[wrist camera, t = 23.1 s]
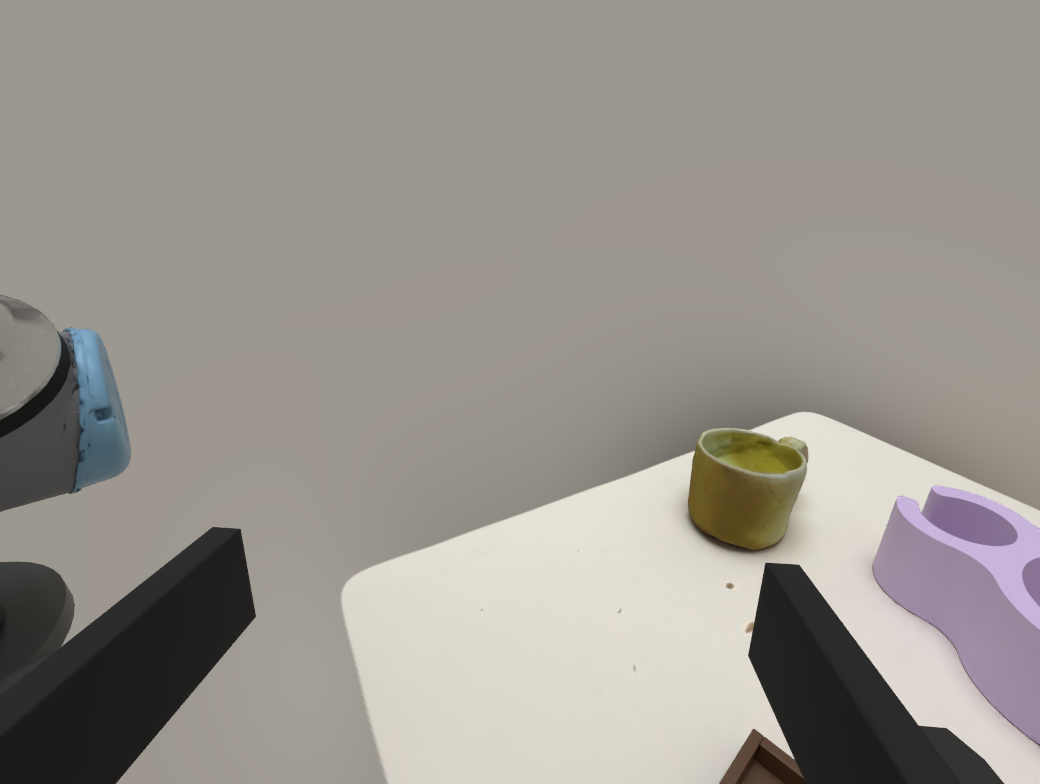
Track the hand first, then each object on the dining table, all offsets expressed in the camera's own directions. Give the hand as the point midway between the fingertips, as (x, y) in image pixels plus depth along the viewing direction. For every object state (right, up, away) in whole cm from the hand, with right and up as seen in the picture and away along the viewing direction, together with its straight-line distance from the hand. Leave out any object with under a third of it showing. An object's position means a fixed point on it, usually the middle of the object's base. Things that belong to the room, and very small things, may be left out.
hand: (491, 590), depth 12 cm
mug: (+23, -7, +35) cm, 43 cm away
